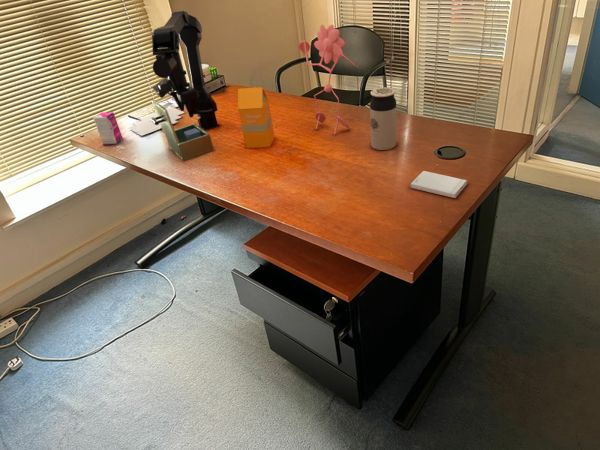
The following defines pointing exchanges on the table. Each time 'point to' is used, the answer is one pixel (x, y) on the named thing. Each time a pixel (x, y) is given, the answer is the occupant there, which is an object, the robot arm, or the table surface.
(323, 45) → the figurine
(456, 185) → the hard drive
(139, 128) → the paper stack
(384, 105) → the travel mug
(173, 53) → the robot arm
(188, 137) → the blue-grey block
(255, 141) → the orange juice
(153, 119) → the bin lid
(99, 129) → the supplement box
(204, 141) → the waste bin
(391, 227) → the table surface
